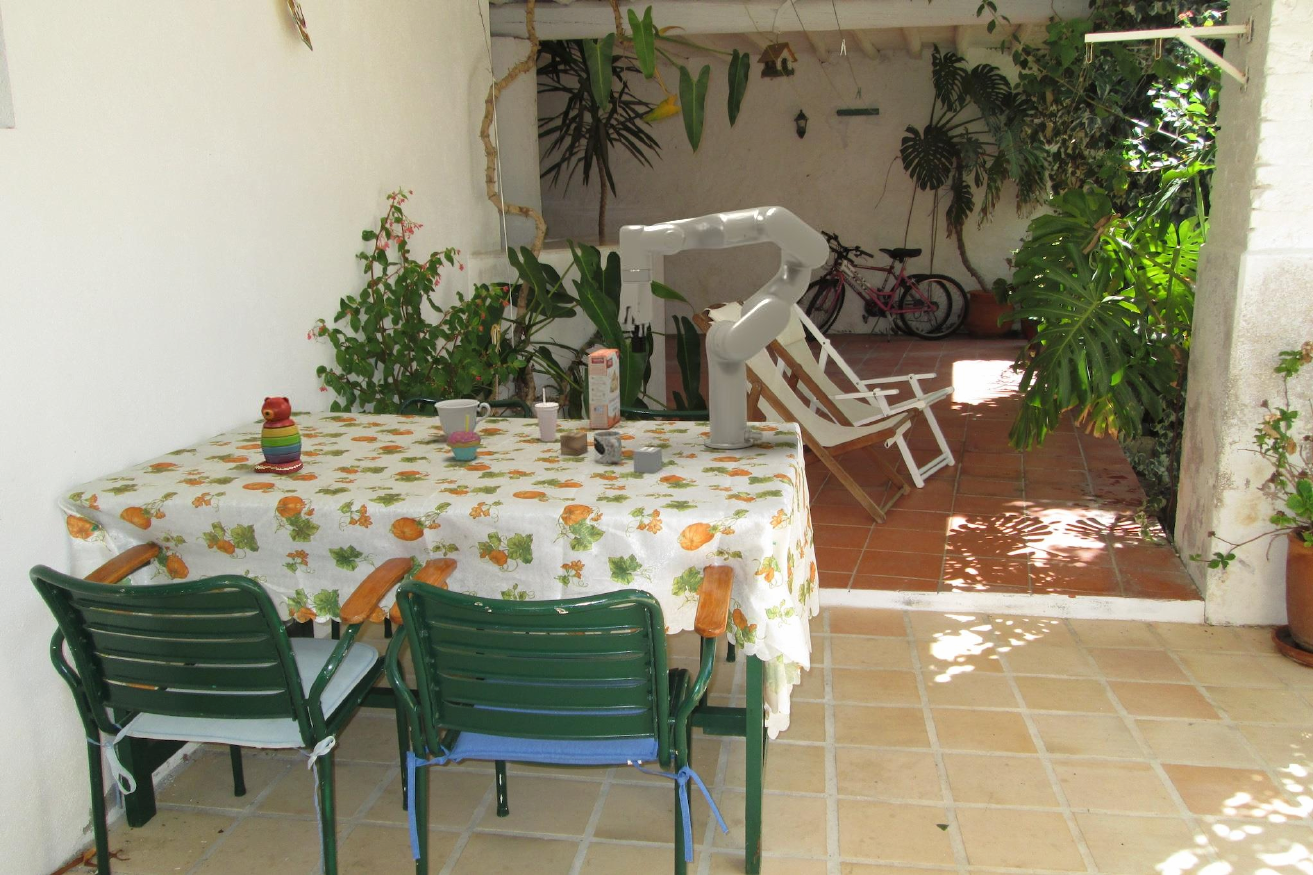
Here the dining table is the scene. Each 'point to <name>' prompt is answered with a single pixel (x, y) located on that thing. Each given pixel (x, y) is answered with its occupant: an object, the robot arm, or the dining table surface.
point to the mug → (607, 447)
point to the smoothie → (547, 419)
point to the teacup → (459, 414)
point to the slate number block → (647, 459)
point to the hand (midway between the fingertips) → (639, 352)
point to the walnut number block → (573, 443)
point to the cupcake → (464, 443)
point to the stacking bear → (279, 437)
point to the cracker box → (604, 388)
